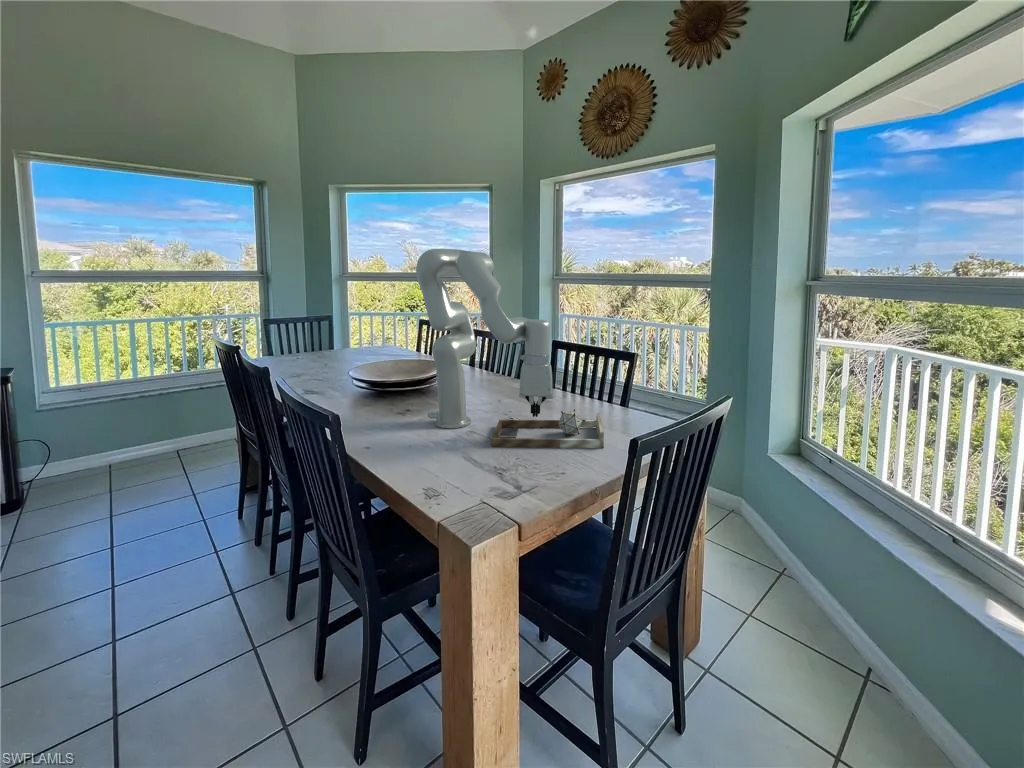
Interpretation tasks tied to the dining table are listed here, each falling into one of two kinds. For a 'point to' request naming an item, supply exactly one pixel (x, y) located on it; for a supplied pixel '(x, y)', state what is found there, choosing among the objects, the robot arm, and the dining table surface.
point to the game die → (570, 422)
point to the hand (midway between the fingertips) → (535, 415)
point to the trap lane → (510, 441)
